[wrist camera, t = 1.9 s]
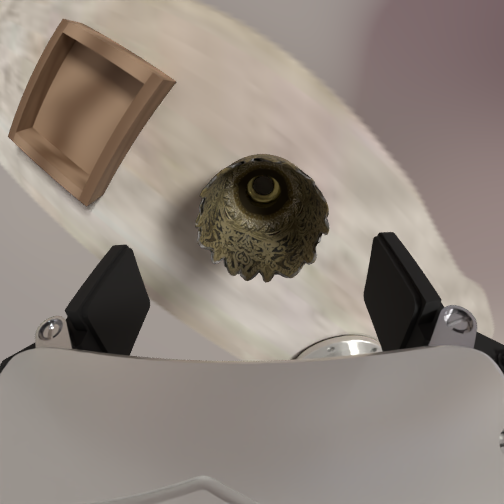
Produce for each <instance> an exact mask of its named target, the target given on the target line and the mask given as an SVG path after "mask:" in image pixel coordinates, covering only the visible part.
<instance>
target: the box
mask: <svg viewBox="0 0 504 504" xmlns="http://www.w3.org/2000/svg"><path fill="white" fill-rule="evenodd" d="M175 83H176V81H175V80H173V79H172V78H170V77H169V76H167V75H166V74H165V73H163V72H162V71H160V70H159V69H157V68H156V67H154V66H153V65H151V64H150V63H148V62H147V61H145V60H143V59H142V58H140V57H139V56H137V55H136V54H134V53H132V52H131V51H129V50H128V49H126V48H124V47H123V46H121V45H119V44H118V43H116V42H114V41H113V40H111V39H109V38H108V37H106V36H104V35H102V34H101V33H99V32H97V31H95V30H93V29H92V28H90V27H88V26H86V25H84V24H82V23H79V22H75V21H70V20H66V19H62V21H61V23H60V24H59V26H58V27H57V29H56V31H55V32H54V34H53V36H52V37H51V39H50V41H49V42H48V44H47V46H46V48H45V50H44V51H43V53H42V55H41V57H40V59H39V61H38V63H37V65H36V67H35V69H34V71H33V73H32V75H31V77H30V80H29V82H28V84H27V86H26V89H25V91H24V93H23V96H22V98H21V101H20V103H19V106H18V109H17V111H16V114H15V117H14V120H13V123H12V126H11V129H10V132H9V135H8V137H9V138H10V139H11V140H12V141H13V142H14V143H15V144H16V145H17V146H18V147H19V148H20V149H21V150H22V151H24V152H25V153H26V154H27V155H28V156H29V157H30V158H31V159H32V160H33V161H34V162H35V163H37V164H38V165H39V166H40V167H41V168H42V169H43V170H44V171H45V172H47V173H48V174H49V175H50V176H51V177H52V178H53V179H55V180H56V181H57V182H58V183H59V184H60V185H61V186H63V187H64V188H65V189H66V190H67V191H68V192H70V193H71V194H72V195H73V196H74V197H76V198H77V199H78V200H79V201H80V202H82V203H83V204H84V205H85V206H86V207H87V206H88V205H90V204H91V203H92V202H94V201H95V200H96V199H98V198H99V197H101V196H102V195H103V194H104V192H105V191H106V189H107V187H108V185H109V183H110V181H111V180H112V178H113V176H114V174H115V172H116V171H117V169H118V167H119V165H120V164H121V162H122V160H123V159H124V157H125V155H126V154H127V152H128V150H129V149H130V147H131V146H132V144H133V143H134V141H135V139H136V138H137V136H138V135H139V133H140V132H141V130H142V129H143V127H144V126H145V124H146V123H147V121H148V120H149V118H150V117H151V116H152V114H153V113H154V111H155V110H156V108H157V107H158V106H159V104H160V103H161V102H162V100H163V99H164V98H165V96H166V95H167V94H168V92H169V91H170V90H171V88H172V87H173V86H174V84H175Z"/></svg>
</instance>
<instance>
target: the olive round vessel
mask: <svg viewBox="0 0 504 504" xmlns="http://www.w3.org/2000/svg"><path fill="white" fill-rule="evenodd" d="M259 176H268V177H269V178H271V179H272V181H273V183H274V188H273V190H272V192H271V193H269V194H267V195H260V194H258V193H256V192H255V190H254V188H253V183H254V180H255V179H256V178H257V177H259ZM200 197H202V201H201V203H200V206H199V209H200V212H199V214H198V217H197V219H196V221H195V227H196V228H198V238H197V241H198V244H199V246H200V247H201V248H203V249H207V250H210V251H211V260H212V263H213V264H216V263H220V261H221V260H224V265H225V267H227V270H228V272H229V273H230V275H232V276H235V275H236V274H240V276H241V277H242V278H243V279H244V280H246V281H249V280H251V279H253V278H254V277H255V276H256V275H257V274H258V273H260V274H261V275H262V277H263V281H264V282H269V281H271V279H272V278H273V277H274V275H281V276H282V277H285V278H293V277H294V276H296V275H297V274H298V273H299V272H300V270H301V269H302V267H303V266H304V265H305V263H307V264H312V263H314V262H315V260H316V258H317V254H316V246H317V244H318V243H319V242H320V241H321V236H322V234H325V235H327V234H328V232H329V223H328V220H327V217H328V214H329V210H328V205H327V202H326V200H325V198H324V196H323V195H322V193H321V191H320V190H319V189H318V188H317V186H316V185H315V182H314V180H313V179H312V178H311V177H309V176H308V175H306V174H305V173H304V172H303V171H302V170H300V169H299V168H298V167H296V166H295V165H294V164H292V163H291V162H289V161H287V160H285V159H283V158H281V157H278V156H274V155H267V154H257V155H251V156H247V157H244V158H242V159H240V160H238V161H236V162H234V163H232V164H231V165H229V166H228V167H226V168H224V169H223V170H221V171H220V172H219V173H218V174H216V175H215V176H214V177H213V178H212V179H211V181H210V182H209V183H208V185H207V186H206V187H205V188H204V189H203V190H202V192H201V194H200Z"/></svg>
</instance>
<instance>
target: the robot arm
mask: <svg viewBox="0 0 504 504" xmlns="http://www.w3.org/2000/svg"><path fill="white" fill-rule="evenodd" d="M364 301H365V304H366V307H367V309H368V312H369V315H370V317H371V320H372V323H373V325H374V328H375V331H376V334H377V337H378V339H379V342H380V343H379V342H378V341H376V340H374V339H373V338H369V337H366V336H358V335H350V336H341V337H335V338H331V339H328V340H325V341H322V342H320V343H317V344H315V345H314V346H312V347H310V348H308V349H307V350H305V351H304V352H303V353H302V354H300V355H299V356H298V358H297V359H296V360H275V361H200V360H178V359H161V358H148V357H137V356H130V353H131V351H132V348H133V346H134V343H135V341H136V338H137V336H138V334H139V331H140V329H141V327H142V324H143V322H144V320H145V317H146V315H147V312H148V310H149V308H150V300H149V297H148V295H147V292H146V289H145V286H144V283H143V280H142V277H141V275H140V272H139V269H138V266H137V262H136V259H135V256H134V253H133V250H132V249H131V248H129V247H128V246H127V245H114V246H112V247H111V249H110V250H109V251H108V252H107V254H106V255H105V256H104V257H103V259H102V260H101V261H100V262H99V264H98V265H97V266H96V268H95V269H94V270H93V272H92V273H91V274H90V276H89V277H88V278H87V280H86V281H85V282H84V284H83V285H82V286H81V288H80V289H79V290H78V292H77V293H76V295H75V296H74V298H73V299H72V300H71V302H70V303H69V305H68V306H67V308H66V309H65V312H66V314H67V316H68V317H67V319H66V320H65V319H64V318H63V317H62V316H53V317H51V318H48V319H46V320H45V321H44V322H43V323H41V324H40V326H39V327H38V328H37V330H36V333H35V343H34V344H32V345H30V346H28V347H26V348H24V349H23V350H21V351H19V352H17V353H16V354H14V355H12V356H10V357H8V358H6V359H5V360H3V361H2V363H1V365H0V504H504V345H503V344H500V343H498V342H496V341H494V340H492V339H490V338H488V337H486V336H484V335H482V334H480V333H478V332H477V322H476V319H475V317H474V316H473V315H472V313H471V312H469V311H468V310H467V309H465V308H463V307H460V306H457V305H450V306H446V307H444V306H443V305H442V303H441V298H440V297H439V295H438V294H437V292H436V291H435V289H434V288H433V286H432V285H431V283H430V282H429V280H428V279H427V277H426V276H425V274H424V273H423V271H422V270H421V269H420V267H419V266H418V264H417V263H416V261H415V260H414V259H413V257H412V256H411V255H410V253H409V252H408V250H407V249H406V248H405V246H404V245H403V244H402V242H401V241H400V240H399V239H398V237H397V236H396V235H395V233H393V232H383V233H379V234H378V236H376V237H374V239H373V244H372V250H371V257H370V263H369V268H368V274H367V279H366V284H365V289H364Z"/></svg>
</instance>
